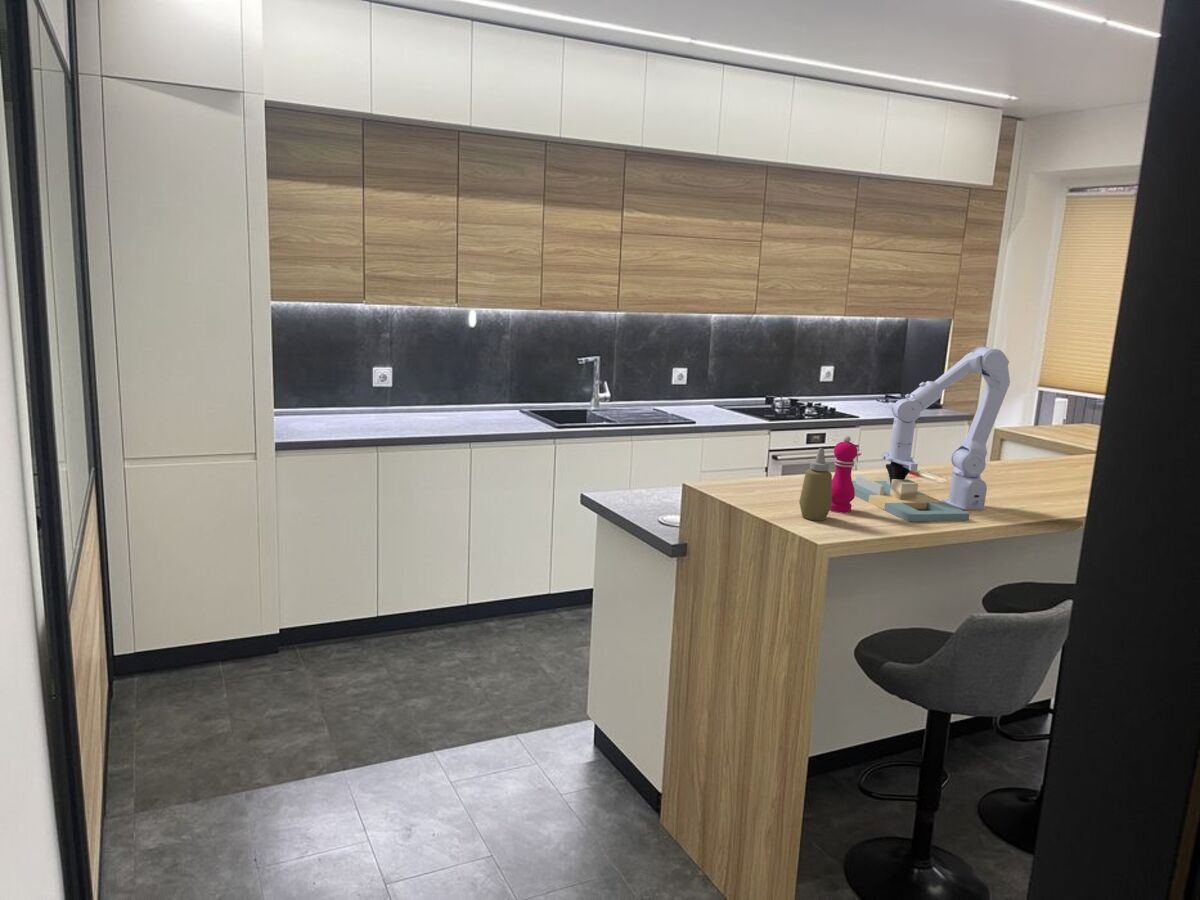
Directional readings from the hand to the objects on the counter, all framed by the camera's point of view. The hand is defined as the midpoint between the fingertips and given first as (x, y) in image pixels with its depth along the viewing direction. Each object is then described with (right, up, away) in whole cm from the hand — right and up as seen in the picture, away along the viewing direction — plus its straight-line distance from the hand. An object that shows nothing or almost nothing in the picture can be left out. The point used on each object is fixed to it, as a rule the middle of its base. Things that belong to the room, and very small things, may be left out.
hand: (895, 490), depth 244 cm
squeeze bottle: (-28, -6, -22) cm, 37 cm away
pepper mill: (-19, -5, -13) cm, 24 cm away
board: (+1, -4, -2) cm, 4 cm away
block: (+1, -2, -4) cm, 4 cm away
